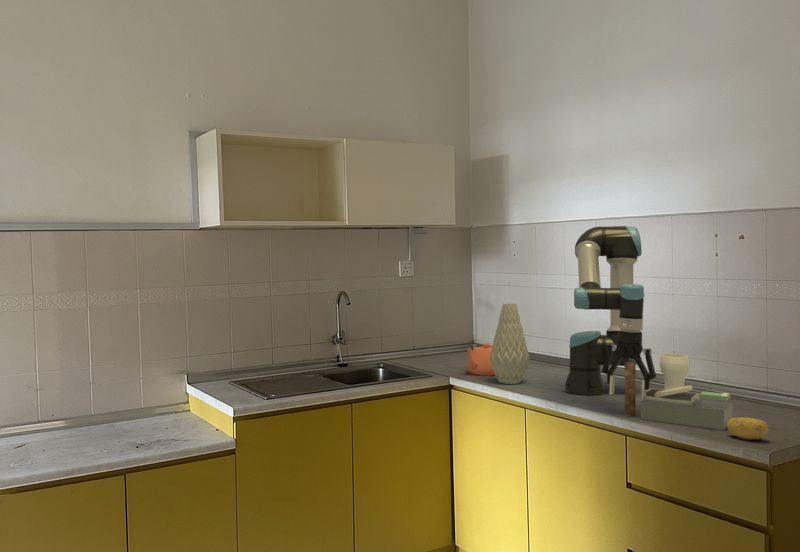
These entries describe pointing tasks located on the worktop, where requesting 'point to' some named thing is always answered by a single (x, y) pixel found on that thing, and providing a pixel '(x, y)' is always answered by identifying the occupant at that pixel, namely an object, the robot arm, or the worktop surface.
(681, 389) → the rocker
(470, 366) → the teapot
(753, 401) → the worktop surface
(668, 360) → the cup
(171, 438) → the worktop surface
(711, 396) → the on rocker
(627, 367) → the brown rounded rod
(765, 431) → the potato
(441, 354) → the worktop surface
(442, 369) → the worktop surface
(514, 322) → the vase
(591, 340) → the robot arm
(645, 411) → the grey storage bin
